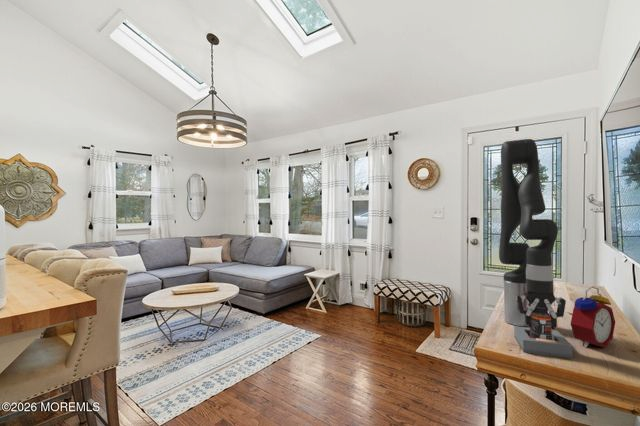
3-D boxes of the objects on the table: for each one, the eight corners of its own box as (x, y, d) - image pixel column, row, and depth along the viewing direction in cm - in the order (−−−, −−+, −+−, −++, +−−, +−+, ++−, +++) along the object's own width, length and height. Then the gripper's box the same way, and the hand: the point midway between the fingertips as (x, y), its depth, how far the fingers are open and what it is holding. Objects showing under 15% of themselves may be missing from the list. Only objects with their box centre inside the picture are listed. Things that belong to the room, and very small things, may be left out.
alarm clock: (593, 352, 97) (591, 290, 97) (562, 342, 105) (561, 285, 105) (616, 344, 103) (615, 285, 103) (586, 335, 111) (585, 281, 111)
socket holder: (514, 337, 110) (514, 325, 110) (557, 342, 105) (557, 329, 106) (523, 352, 98) (523, 338, 98) (572, 358, 93) (572, 344, 93)
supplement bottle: (549, 345, 98) (548, 310, 98) (527, 339, 102) (527, 306, 102) (553, 339, 102) (553, 306, 102) (532, 334, 106) (532, 302, 106)
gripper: (561, 276, 103) (562, 326, 103) (512, 274, 108) (513, 321, 108) (569, 281, 96) (571, 334, 96) (517, 278, 101) (518, 328, 101)
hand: (540, 327), depth 102 cm, fingers closed on supplement bottle, 6 cm apart
